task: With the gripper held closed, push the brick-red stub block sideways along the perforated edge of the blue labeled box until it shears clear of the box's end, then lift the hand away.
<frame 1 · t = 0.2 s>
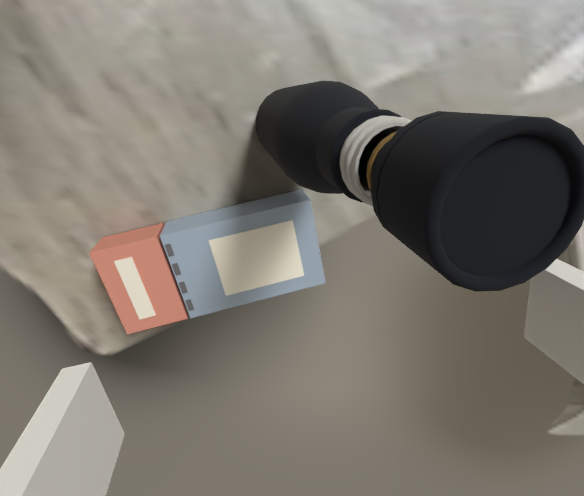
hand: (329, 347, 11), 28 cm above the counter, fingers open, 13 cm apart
stub: (145, 278, 36), point 2 cm above the counter, slide at 0.0 cm
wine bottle: (288, 124, 35), on the counter
blue labeled box: (246, 244, 39), on the counter
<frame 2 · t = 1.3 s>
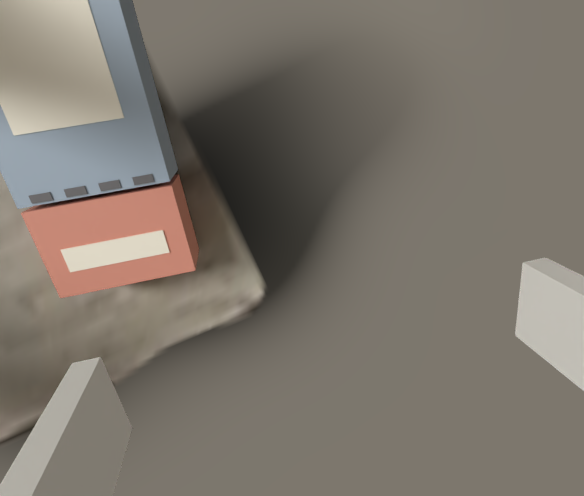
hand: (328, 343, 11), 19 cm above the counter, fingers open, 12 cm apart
stub: (121, 233, 25), point 2 cm above the counter, slide at 0.0 cm
blue labeled box: (78, 73, 23), on the counter
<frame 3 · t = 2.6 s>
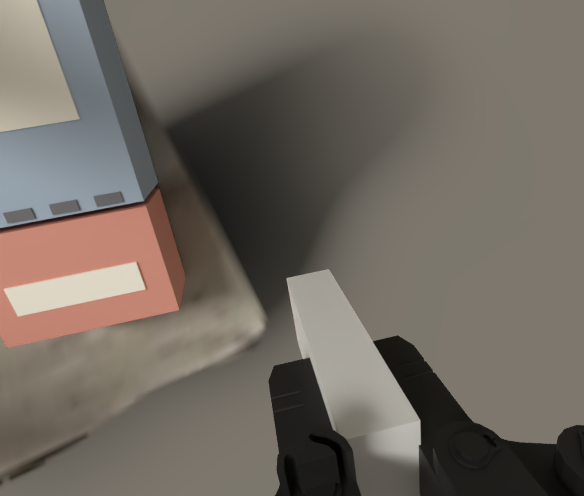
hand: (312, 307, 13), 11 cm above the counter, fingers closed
stub: (87, 264, 20), point 2 cm above the counter, slide at 0.0 cm
blue labeled box: (26, 62, 18), on the counter
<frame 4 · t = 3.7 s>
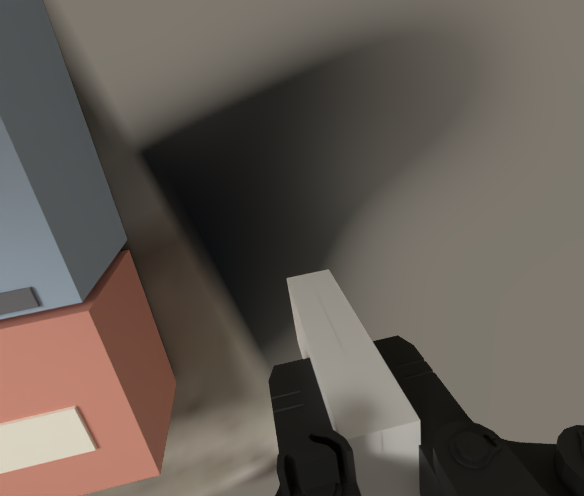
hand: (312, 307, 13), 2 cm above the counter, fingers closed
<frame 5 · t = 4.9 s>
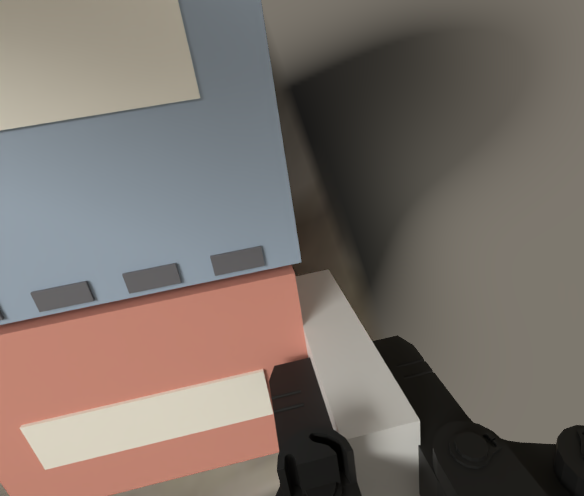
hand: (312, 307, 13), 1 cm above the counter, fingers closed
stub: (161, 358, 12), point 2 cm above the counter, slide at 0.2 cm, touching gripper
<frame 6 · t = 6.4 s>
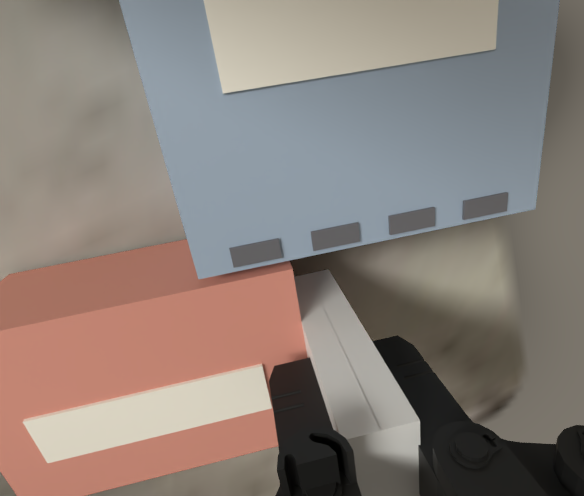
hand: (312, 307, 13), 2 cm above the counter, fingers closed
stub: (161, 354, 12), point 2 cm above the counter, slide at 6.7 cm, touching gripper
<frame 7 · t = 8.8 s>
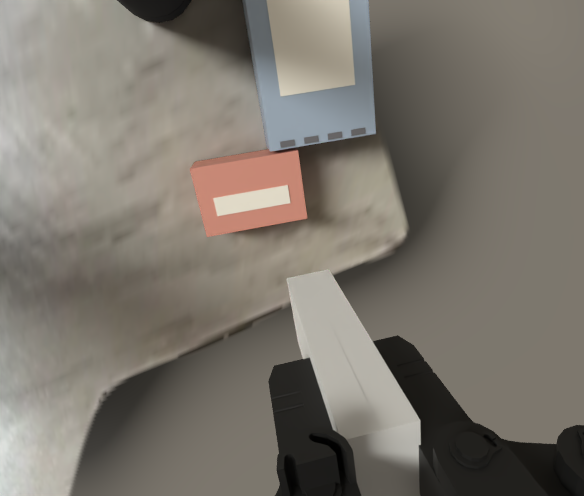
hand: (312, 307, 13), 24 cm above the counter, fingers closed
stub: (250, 189, 33), point 2 cm above the counter, slide at 6.7 cm
blue labeled box: (303, 54, 32), on the counter
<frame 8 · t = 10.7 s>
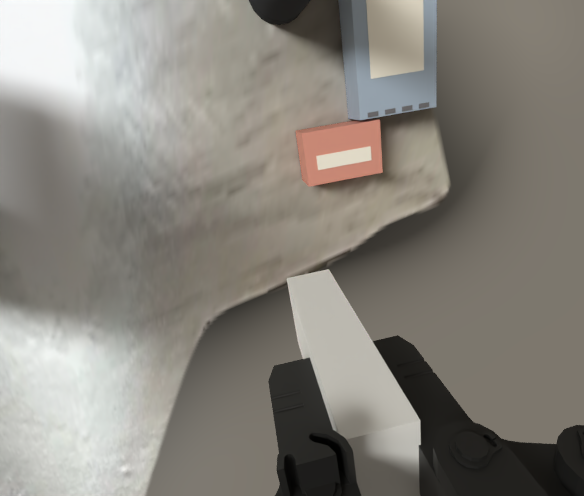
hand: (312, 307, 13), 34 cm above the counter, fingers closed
stub: (338, 151, 44), point 2 cm above the counter, slide at 6.7 cm
blue labeled box: (380, 48, 42), on the counter
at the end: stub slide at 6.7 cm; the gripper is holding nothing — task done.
